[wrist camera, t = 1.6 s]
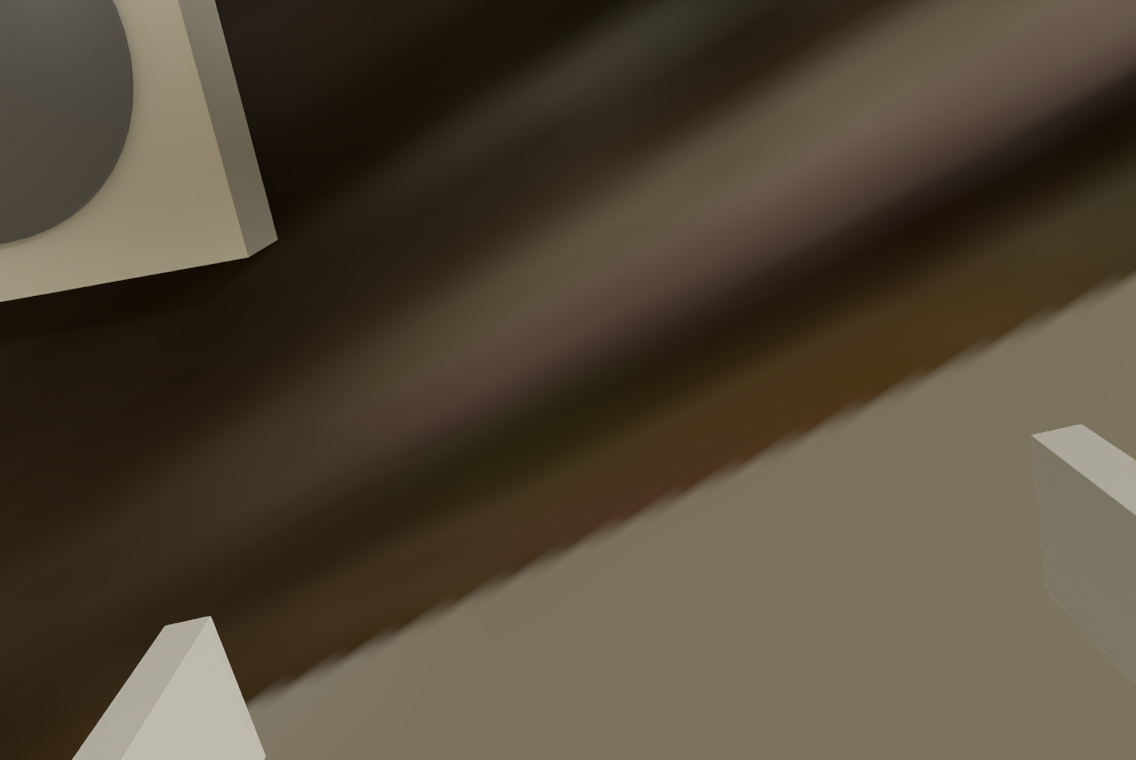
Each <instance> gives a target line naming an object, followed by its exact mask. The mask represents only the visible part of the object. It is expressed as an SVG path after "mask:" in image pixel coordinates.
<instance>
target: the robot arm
mask: <svg viewBox="0 0 1136 760" xmlns="http://www.w3.org/2000/svg"><path fill="white" fill-rule="evenodd" d="M1031 439H1032V450H1033V460H1034V470H1035V480H1036V491H1037V501H1038V510H1039V521H1040V532H1041V542H1042V552H1043V561H1044V571H1045V582H1046V591H1047V592H1048V593H1049V595H1050V596H1051V597H1052V598H1053V599H1054V600H1055V601H1056V602H1057V603H1058V604H1059V605H1060V606H1061V607H1062V608H1063V609H1064V610H1065V611H1066V612H1067V614H1068V615H1069V616H1070V617H1071V618H1072V619H1073V620H1074V621H1075V622H1076V623H1077V624H1078V625H1079V626H1080V627H1081V628H1082V629H1083V630H1084V632H1085V633H1086V634H1087V635H1088V636H1089V637H1090V638H1091V639H1092V640H1093V641H1094V642H1095V643H1096V644H1097V645H1098V646H1099V647H1100V648H1101V650H1103V652H1104V653H1105V654H1106V655H1107V656H1108V657H1109V658H1110V659H1111V660H1112V661H1113V662H1114V663H1115V664H1116V665H1117V666H1118V667H1119V669H1120V670H1121V671H1122V672H1123V673H1124V674H1125V675H1126V676H1127V677H1128V678H1129V679H1130V680H1131V681H1132V682H1133V683H1134V684H1135V685H1136V461H1135V460H1134V459H1132V458H1131V457H1130V456H1128V455H1127V454H1125V453H1124V452H1122V451H1121V450H1119V449H1118V448H1116V447H1114V446H1113V445H1112V444H1110V443H1109V442H1107V441H1106V440H1104V439H1103V438H1101V437H1100V436H1098V435H1097V434H1095V433H1094V432H1092V431H1091V430H1089V429H1088V428H1086V427H1085V426H1083V425H1082V424H1080V425H1075V426H1071V427H1066V428H1062V429H1057V430H1052V431H1048V432H1043V433H1039V434H1034V435H1031ZM265 757H266V755H265V753H264V750H263V748H262V745H261V743H260V740H259V738H258V735H257V733H256V730H255V727H254V725H253V723H252V720H251V717H250V715H249V712H248V710H247V707H246V705H245V702H244V700H243V697H242V694H241V692H240V689H239V687H238V684H237V682H236V679H235V677H234V674H233V672H232V669H231V666H230V664H229V661H228V659H227V656H226V654H225V651H224V649H223V646H222V644H221V641H220V639H219V636H218V633H217V631H216V628H215V626H214V623H213V621H212V618H211V616H208V617H203V618H199V619H194V620H190V621H185V622H181V623H176V624H172V625H167V626H165V627H164V628H163V630H162V631H161V632H160V634H159V635H158V637H157V638H156V640H155V641H154V643H153V644H152V645H151V647H150V648H149V650H148V651H147V653H146V654H145V656H144V657H143V658H142V660H141V661H140V663H139V664H138V666H137V667H136V669H135V670H134V671H133V673H132V674H131V676H130V677H129V679H128V680H127V681H126V683H125V684H124V686H123V687H122V689H121V690H120V692H119V693H118V694H117V696H116V697H115V699H114V700H113V702H112V703H111V705H110V706H109V707H108V709H107V710H106V712H105V713H104V715H103V716H102V718H101V719H100V720H99V722H98V723H97V725H96V726H95V728H94V729H93V731H92V732H91V733H90V735H89V736H88V738H87V739H86V741H85V742H84V743H83V745H82V746H81V748H80V749H79V751H78V752H77V754H76V755H75V756H74V758H73V759H72V760H264V759H265Z"/></svg>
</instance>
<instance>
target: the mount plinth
mask: <svg viewBox="0 0 1136 760" xmlns="http://www.w3.org/2000/svg"><path fill="white" fill-rule="evenodd" d="M276 240H278V239H277V235H276V231H275V227H274V223H273V220H272V216H271V212H270V208H269V204H268V201H267V197H266V193H265V189H264V185H263V182H262V178H261V174H260V170H259V166H258V163H257V159H256V155H255V151H254V147H253V144H252V140H251V136H250V132H249V128H248V125H247V121H246V117H245V113H244V110H243V106H242V102H241V98H240V94H239V91H238V87H237V83H236V79H235V75H234V72H233V68H232V64H231V60H230V56H229V53H228V49H227V45H226V41H225V37H224V34H223V30H222V26H221V22H220V18H219V15H218V11H217V7H216V3H215V0H0V302H2V301H8V300H14V299H19V298H25V297H30V296H36V295H41V294H47V293H53V292H58V291H64V290H69V289H75V288H80V287H86V286H91V285H97V284H103V283H108V282H114V281H119V280H125V279H130V278H136V277H142V276H147V275H153V274H158V273H164V272H169V271H175V270H181V269H186V268H192V267H197V266H203V265H208V264H214V263H219V262H225V261H231V260H236V259H242V258H247V257H250V256H251V255H253V254H255V253H256V252H258V251H260V250H261V249H263V248H265V247H266V246H268V245H270V244H271V243H273V242H275V241H276Z"/></svg>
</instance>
